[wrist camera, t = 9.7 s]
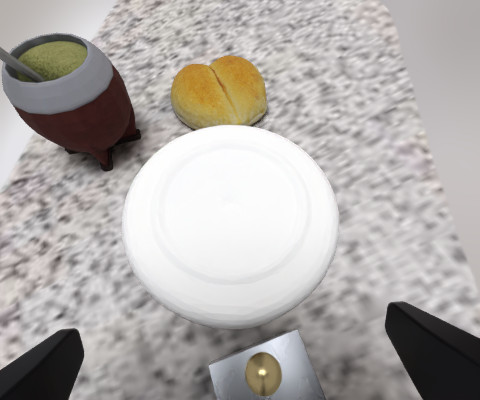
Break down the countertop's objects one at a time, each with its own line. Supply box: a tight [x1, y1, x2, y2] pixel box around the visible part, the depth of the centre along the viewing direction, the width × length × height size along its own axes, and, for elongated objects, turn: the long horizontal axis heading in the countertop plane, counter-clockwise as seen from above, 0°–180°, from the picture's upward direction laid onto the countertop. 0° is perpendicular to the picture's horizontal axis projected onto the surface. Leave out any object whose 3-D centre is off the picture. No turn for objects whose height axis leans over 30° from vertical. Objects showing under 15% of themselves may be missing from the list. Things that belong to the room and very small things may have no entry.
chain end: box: [209, 329, 326, 400], centre depth 13 cm, size 5×5×3 cm
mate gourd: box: [0, 33, 141, 171], centre depth 16 cm, size 8×8×15 cm
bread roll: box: [170, 56, 268, 130], centre depth 24 cm, size 8×9×4 cm
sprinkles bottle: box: [121, 125, 339, 330], centre depth 11 cm, size 5×5×14 cm
